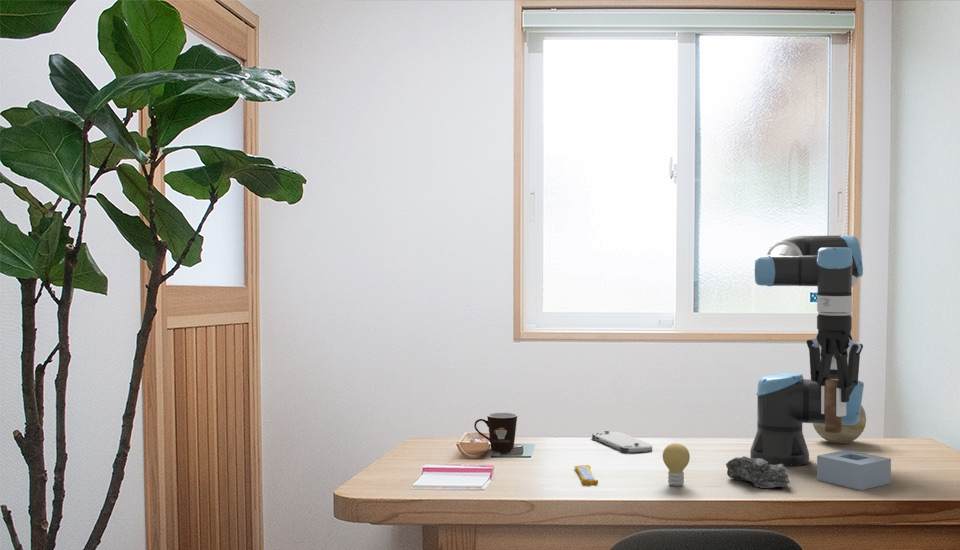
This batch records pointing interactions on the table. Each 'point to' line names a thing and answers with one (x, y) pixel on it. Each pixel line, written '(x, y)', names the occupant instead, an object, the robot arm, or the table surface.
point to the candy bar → (585, 475)
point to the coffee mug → (500, 431)
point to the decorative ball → (843, 431)
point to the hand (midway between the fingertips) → (833, 414)
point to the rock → (758, 472)
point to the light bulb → (676, 462)
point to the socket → (854, 469)
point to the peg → (831, 407)
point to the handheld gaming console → (622, 442)
